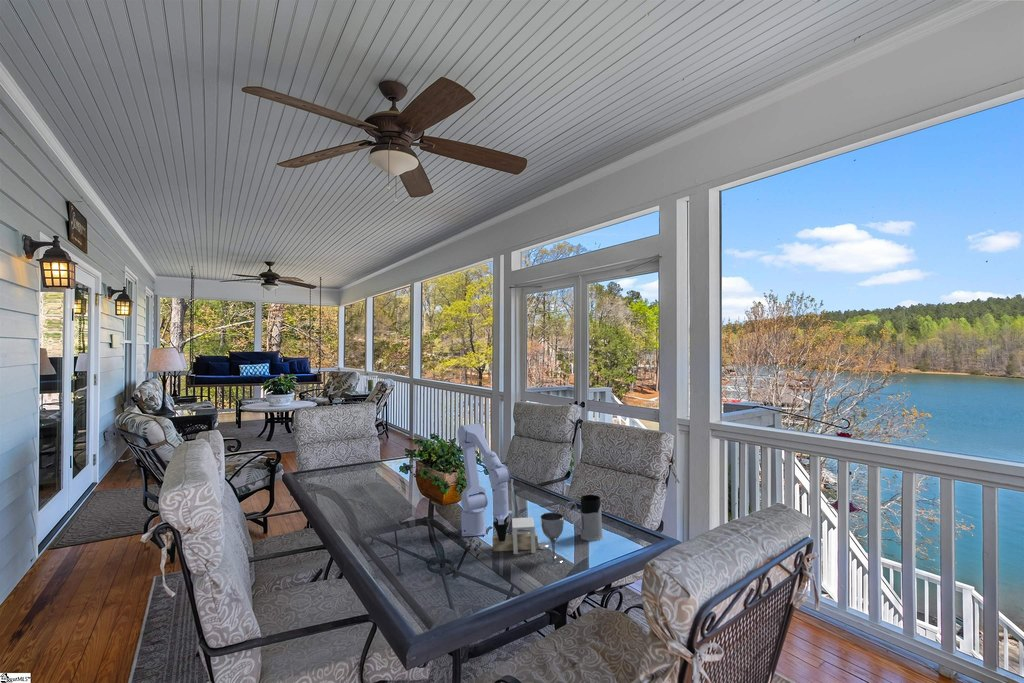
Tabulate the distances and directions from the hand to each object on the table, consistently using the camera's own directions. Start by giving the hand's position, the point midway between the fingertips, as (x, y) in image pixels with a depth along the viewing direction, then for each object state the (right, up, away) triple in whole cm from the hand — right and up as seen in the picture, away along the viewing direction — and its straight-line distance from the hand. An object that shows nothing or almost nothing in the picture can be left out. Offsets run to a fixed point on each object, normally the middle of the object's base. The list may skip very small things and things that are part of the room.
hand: (502, 536), depth 173 cm
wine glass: (+18, -4, -10) cm, 21 cm away
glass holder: (+32, -4, +8) cm, 33 cm away
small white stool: (+8, -4, 0) cm, 9 cm away
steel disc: (+16, -4, 0) cm, 16 cm away
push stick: (+5, -5, 0) cm, 7 cm away
